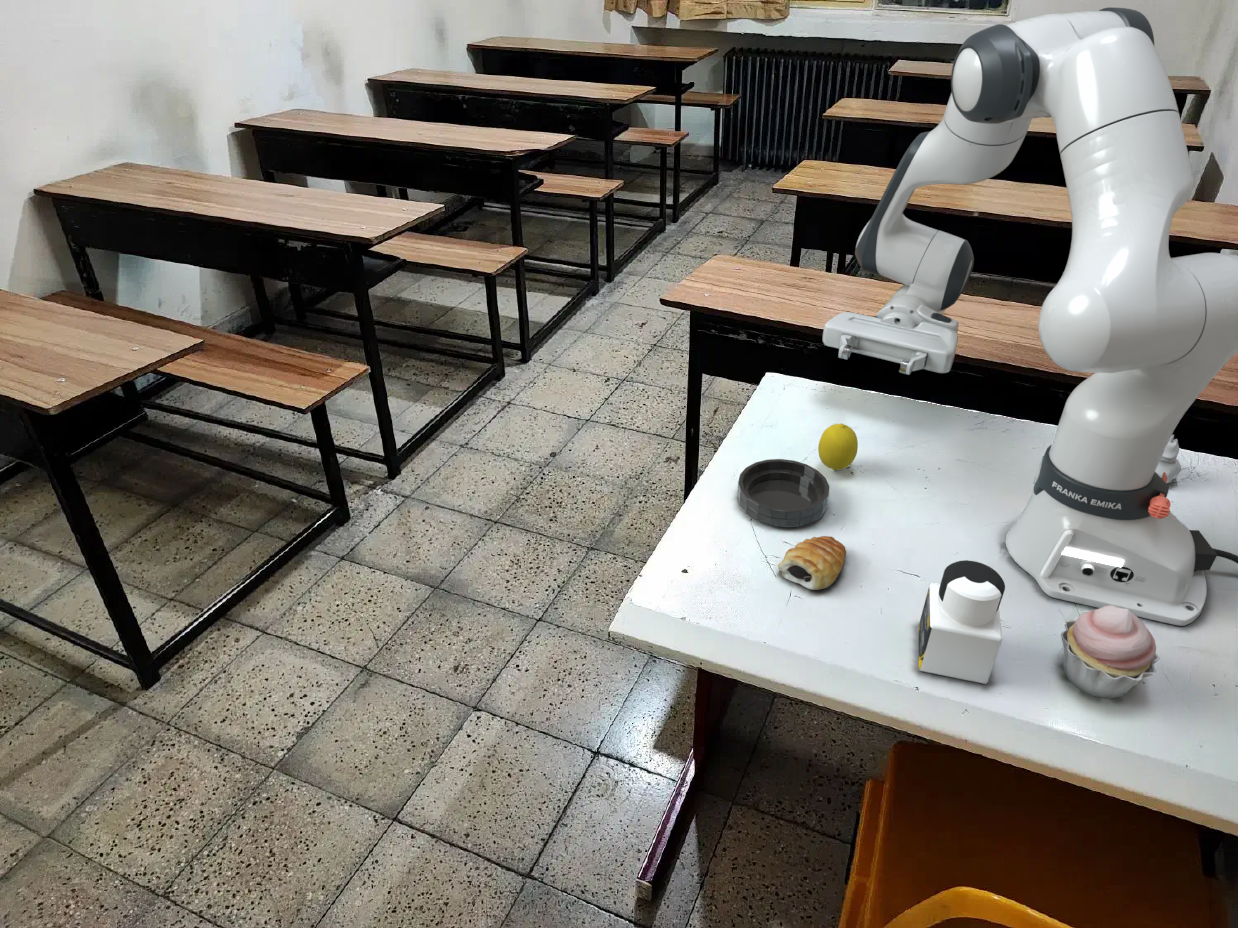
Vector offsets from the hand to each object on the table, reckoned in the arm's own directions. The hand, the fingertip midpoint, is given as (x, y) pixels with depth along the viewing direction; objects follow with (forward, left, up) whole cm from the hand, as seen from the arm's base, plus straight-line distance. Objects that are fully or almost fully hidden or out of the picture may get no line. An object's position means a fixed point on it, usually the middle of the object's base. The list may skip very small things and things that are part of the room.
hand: (873, 361), depth 123 cm
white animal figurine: (-40, -10, -13) cm, 43 cm away
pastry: (-6, +35, -13) cm, 38 cm away
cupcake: (-38, +35, -13) cm, 53 cm away
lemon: (0, +12, -13) cm, 18 cm away
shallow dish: (+3, +24, -13) cm, 27 cm away
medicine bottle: (-24, +40, -13) cm, 49 cm away
